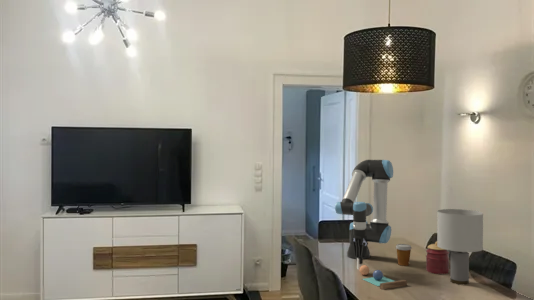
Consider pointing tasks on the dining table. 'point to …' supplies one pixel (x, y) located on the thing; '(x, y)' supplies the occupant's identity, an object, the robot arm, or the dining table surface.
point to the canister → (437, 259)
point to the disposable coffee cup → (403, 254)
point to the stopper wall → (393, 284)
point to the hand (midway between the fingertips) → (359, 269)
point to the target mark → (377, 282)
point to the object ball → (377, 275)
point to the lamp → (460, 239)
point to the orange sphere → (364, 270)
